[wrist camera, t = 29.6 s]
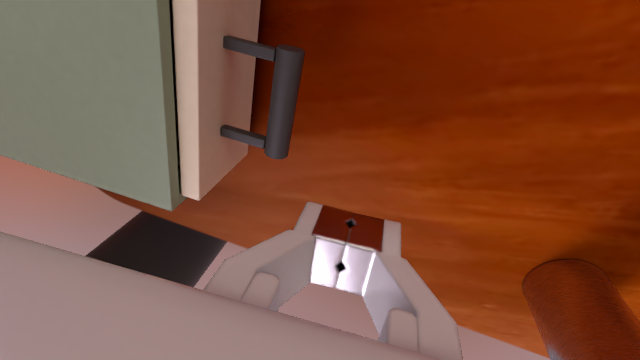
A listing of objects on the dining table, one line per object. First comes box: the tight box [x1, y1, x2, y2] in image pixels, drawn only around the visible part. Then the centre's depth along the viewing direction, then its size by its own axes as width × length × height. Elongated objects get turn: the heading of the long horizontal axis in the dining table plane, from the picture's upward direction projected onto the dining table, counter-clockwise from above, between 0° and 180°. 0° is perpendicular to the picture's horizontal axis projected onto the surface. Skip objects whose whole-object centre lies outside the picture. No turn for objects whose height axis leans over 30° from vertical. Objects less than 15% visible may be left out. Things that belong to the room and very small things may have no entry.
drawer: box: [169, 0, 305, 201], centre depth 18 cm, size 18×12×7 cm
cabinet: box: [0, 0, 187, 211], centre depth 19 cm, size 15×14×9 cm
